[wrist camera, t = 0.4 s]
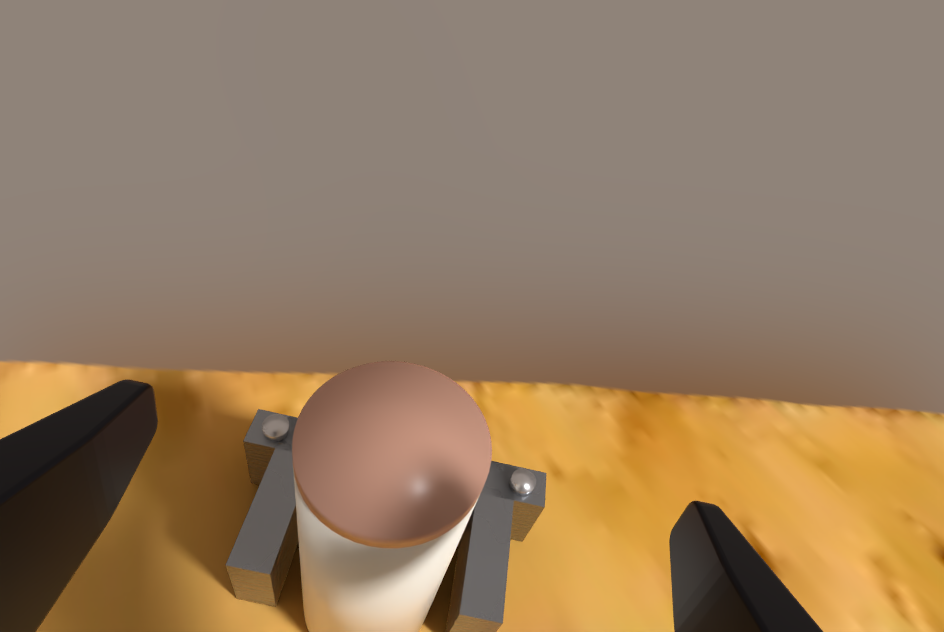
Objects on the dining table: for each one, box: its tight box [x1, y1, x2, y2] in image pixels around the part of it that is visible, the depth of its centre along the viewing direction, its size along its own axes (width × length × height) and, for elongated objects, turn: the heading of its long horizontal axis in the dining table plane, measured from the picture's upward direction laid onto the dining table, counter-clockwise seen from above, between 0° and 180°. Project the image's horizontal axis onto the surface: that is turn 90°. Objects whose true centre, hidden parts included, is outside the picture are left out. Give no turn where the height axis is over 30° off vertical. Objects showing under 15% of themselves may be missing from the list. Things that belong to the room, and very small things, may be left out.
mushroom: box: [292, 361, 492, 632], centre depth 18 cm, size 5×5×12 cm
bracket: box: [226, 409, 546, 632], centre depth 23 cm, size 6×12×4 cm, turn 82°
